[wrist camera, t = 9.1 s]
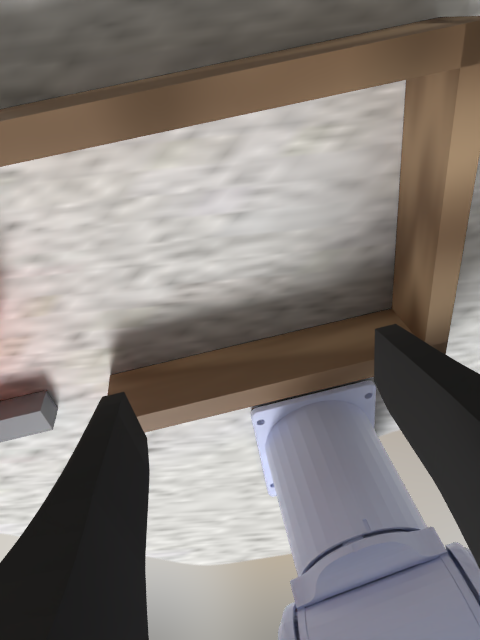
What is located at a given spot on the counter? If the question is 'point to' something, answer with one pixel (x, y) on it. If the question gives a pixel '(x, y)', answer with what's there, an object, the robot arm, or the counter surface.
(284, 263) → the counter surface
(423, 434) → the robot arm
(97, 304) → the counter surface
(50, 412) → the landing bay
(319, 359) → the brown wooden frame
